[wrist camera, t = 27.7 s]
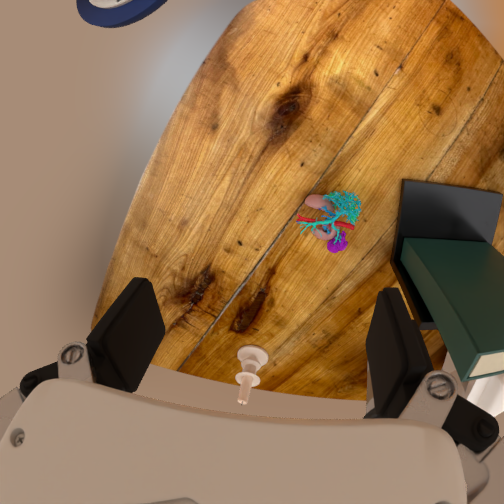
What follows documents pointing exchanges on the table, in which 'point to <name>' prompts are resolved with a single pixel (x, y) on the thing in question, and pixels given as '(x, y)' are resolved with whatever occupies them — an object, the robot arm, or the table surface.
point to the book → (462, 299)
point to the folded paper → (480, 389)
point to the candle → (249, 369)
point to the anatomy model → (330, 224)
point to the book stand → (440, 227)
